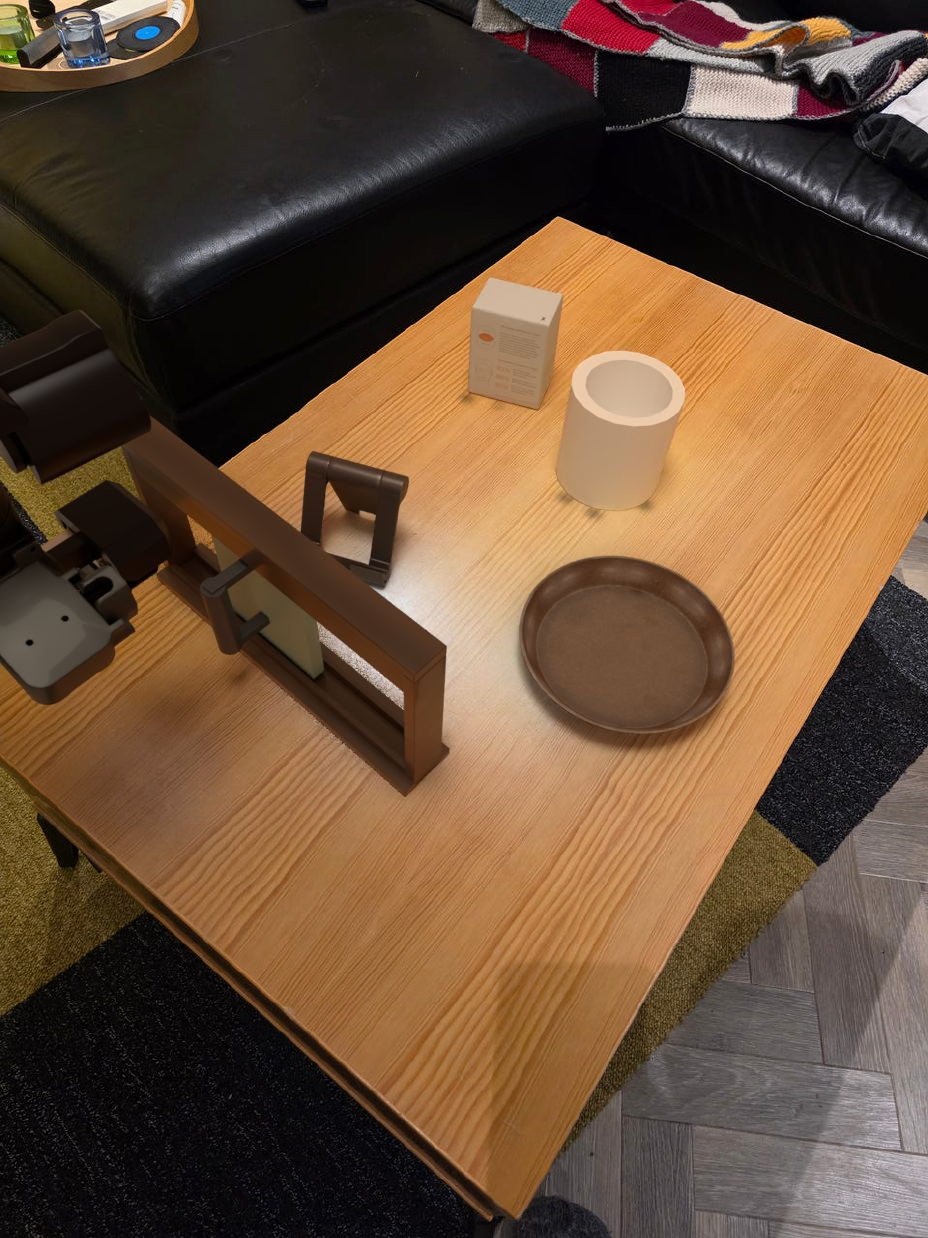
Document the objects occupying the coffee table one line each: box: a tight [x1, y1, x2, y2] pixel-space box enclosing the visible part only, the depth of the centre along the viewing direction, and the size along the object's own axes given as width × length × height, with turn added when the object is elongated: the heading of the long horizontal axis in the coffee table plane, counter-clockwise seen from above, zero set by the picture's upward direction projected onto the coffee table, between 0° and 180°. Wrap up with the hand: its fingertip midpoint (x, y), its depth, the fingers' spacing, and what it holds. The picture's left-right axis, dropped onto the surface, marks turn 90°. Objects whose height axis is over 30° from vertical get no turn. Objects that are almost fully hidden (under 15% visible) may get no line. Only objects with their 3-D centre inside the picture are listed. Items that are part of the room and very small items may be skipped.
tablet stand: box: [300, 450, 410, 587], centre depth 77 cm, size 9×8×8 cm
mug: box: [555, 350, 686, 512], centre depth 83 cm, size 14×10×11 cm
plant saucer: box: [518, 555, 736, 735], centre depth 73 cm, size 18×18×3 cm
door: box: [200, 534, 324, 679], centre depth 66 cm, size 6×10×12 cm, turn 48°
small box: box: [467, 276, 564, 410], centre depth 89 cm, size 8×6×10 cm
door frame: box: [120, 415, 451, 797], centre depth 66 cm, size 5×30×16 cm, turn 48°
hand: (55, 682), depth 55 cm, fingers open, 9 cm apart
